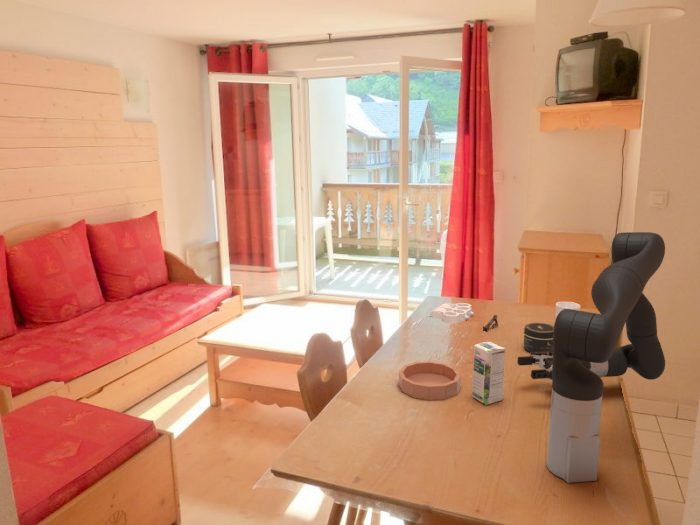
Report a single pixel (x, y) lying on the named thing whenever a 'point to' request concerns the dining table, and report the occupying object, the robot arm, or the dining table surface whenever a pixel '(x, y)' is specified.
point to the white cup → (566, 307)
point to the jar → (538, 337)
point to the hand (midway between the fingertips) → (524, 367)
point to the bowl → (429, 380)
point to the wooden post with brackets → (491, 323)
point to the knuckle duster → (452, 312)
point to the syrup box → (488, 372)
